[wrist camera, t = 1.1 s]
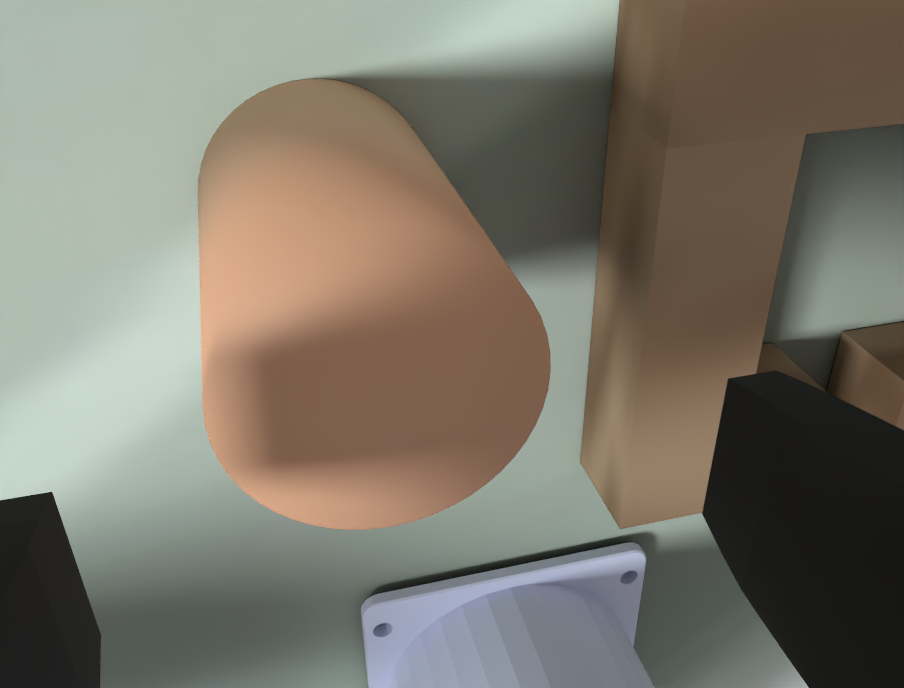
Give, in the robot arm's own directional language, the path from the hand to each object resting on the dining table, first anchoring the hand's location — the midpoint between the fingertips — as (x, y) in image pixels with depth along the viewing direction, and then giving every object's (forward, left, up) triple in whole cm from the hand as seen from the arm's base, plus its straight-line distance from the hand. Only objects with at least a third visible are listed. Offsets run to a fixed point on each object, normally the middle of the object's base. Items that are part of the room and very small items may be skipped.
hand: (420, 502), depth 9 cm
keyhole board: (-2, -12, -9) cm, 15 cm away
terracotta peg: (0, 0, -9) cm, 9 cm away
